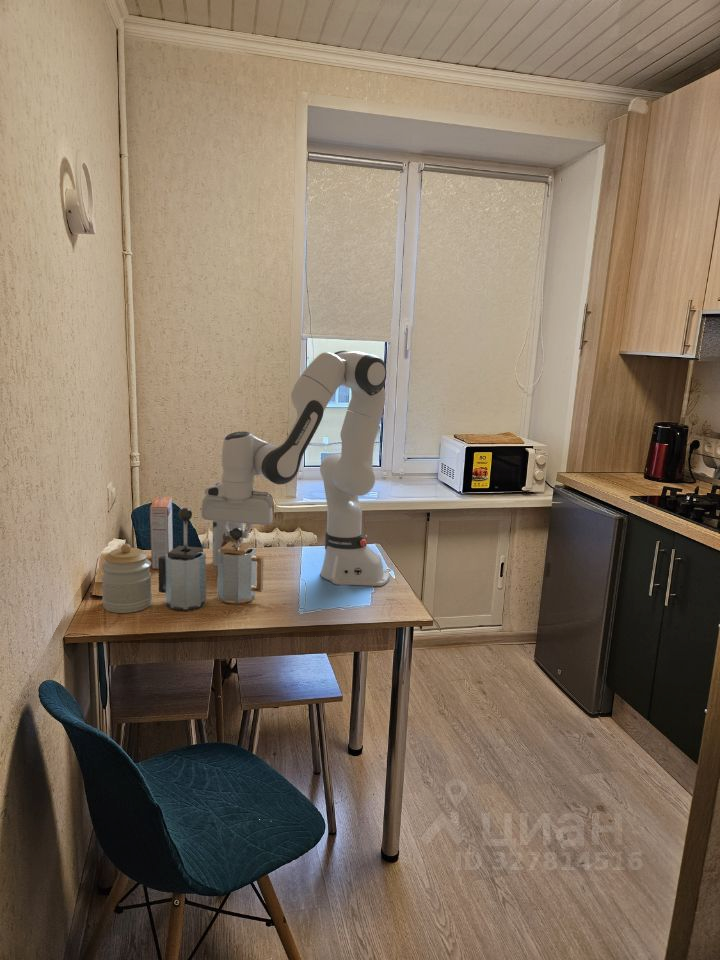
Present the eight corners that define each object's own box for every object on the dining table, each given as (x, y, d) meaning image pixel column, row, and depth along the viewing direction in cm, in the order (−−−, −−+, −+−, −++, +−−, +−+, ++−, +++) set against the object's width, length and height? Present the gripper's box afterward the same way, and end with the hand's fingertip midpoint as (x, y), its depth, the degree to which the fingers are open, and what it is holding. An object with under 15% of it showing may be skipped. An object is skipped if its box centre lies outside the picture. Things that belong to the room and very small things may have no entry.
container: (211, 559, 225) (211, 502, 221) (240, 558, 228) (241, 501, 224) (214, 569, 216) (214, 509, 212) (244, 567, 219) (245, 508, 215)
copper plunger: (253, 581, 195) (254, 525, 192) (244, 590, 188) (245, 532, 184) (228, 578, 196) (229, 523, 193) (219, 587, 189) (219, 530, 185)
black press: (210, 598, 191) (210, 546, 188) (196, 612, 181) (195, 557, 178) (168, 594, 193) (168, 542, 190) (152, 607, 183) (151, 553, 180)
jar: (158, 597, 190) (157, 538, 187) (142, 615, 178) (141, 552, 174) (113, 595, 191) (111, 536, 187) (94, 612, 178) (92, 549, 174)
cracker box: (155, 555, 226) (154, 496, 222) (173, 555, 227) (172, 496, 223) (150, 569, 213) (149, 506, 209) (169, 569, 214) (168, 506, 210)
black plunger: (204, 564, 188) (203, 506, 184) (193, 573, 180) (192, 512, 177) (178, 562, 189) (178, 503, 185) (166, 570, 181) (166, 510, 178)
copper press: (266, 594, 197) (267, 543, 193) (255, 607, 186) (256, 554, 183) (225, 589, 198) (226, 539, 195) (212, 602, 188) (212, 549, 185)
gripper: (276, 490, 188) (275, 537, 190) (207, 484, 191) (207, 530, 194) (269, 495, 182) (268, 543, 184) (199, 488, 185) (199, 536, 187)
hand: (236, 536), depth 189 cm, fingers closed on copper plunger, 4 cm apart
